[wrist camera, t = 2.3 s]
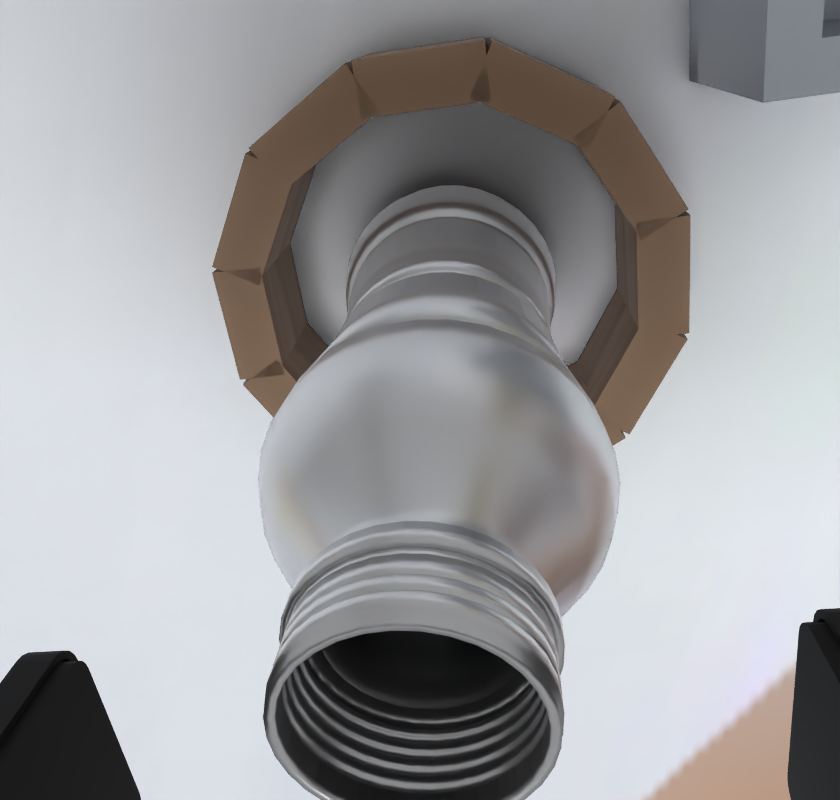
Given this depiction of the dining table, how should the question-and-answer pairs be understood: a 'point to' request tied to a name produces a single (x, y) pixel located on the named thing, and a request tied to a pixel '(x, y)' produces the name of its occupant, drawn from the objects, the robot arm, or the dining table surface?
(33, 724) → the robot arm
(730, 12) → the charcoal bin
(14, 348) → the dining table surface
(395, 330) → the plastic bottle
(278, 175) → the walnut collar
